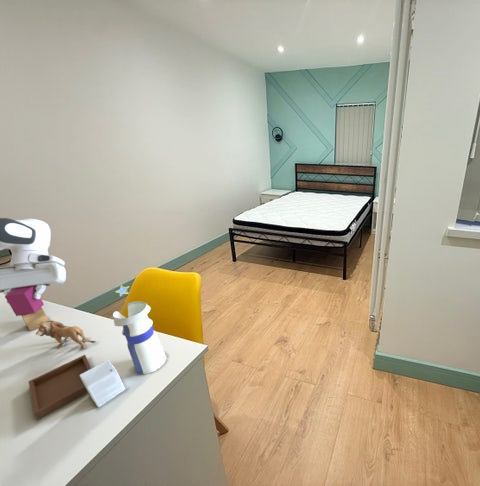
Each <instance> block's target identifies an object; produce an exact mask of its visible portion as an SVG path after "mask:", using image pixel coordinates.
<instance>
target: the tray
mask: <svg viewBox="0 0 480 486" xmlns="http://www.w3.org/2000/svg"><path fill="white" fill-rule="evenodd" d="M92 368H93V367H91V364H90V361H89V360H88V357H87V356H86V354H83V355H81V356H79V357H77V358H74V359H73V360H70V361H68V362H66V363H64V364H62V365H60V366H57V367H56V368H53V369H52V370H50V371H47V372H45V373H43V374H41V375H39V376H37V377H34V378H32V379H30V380H28V385H29V392H30V399H31V404H32V409H33V410H32V411H33V415H34V416H35V418H36V419H37V420H41V419H42V418H44V417H46V416H47V415H49V414H51V413H53V412H55V411H56V410H58V409H60V408H62V407H64V406H65V405H68V404H69V403H71V402H72V401H74V400H76V399H78V398H80V397H81V396H83V395H85V394H87V393H88V391H87V389H86V387H85V385H84V384H83V382H82V380H81V378H80V376H79V375H81V374H82V373H84V372H86V371H88V370H90V369H92Z"/></svg>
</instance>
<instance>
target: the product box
mask: <svg viewBox="0 0 480 486" xmlns="http://www.w3.org/2000/svg"><path fill="white" fill-rule="evenodd" d="M91 368H92V369H90V370H88V371H86V372H84V373H82V374H81V375H79V376H80V378H81V380H82V382H83V384H84V385H85V387H86V389H87V391H88V392H87V393H88V395H89V396H90V398H91V399H92V400H93V402H94V404H95V405H96V407H97V408H100V407H101V406H103V405H105V404H106V403H108V402H109V401H111V400H112V399H113V398H115V397H116V396H118V395H119V394H121V393H122V392H124V391H125V390H126V387H125V385H124V383H123V381H122V379H121V376H120V374H119V372H118V370H117V369H116V367H115V366H114V365H113V364H112V363H111V362H110V360H109V359H106V360H103V362H101V363H98V365H95V366H93V367H91Z"/></svg>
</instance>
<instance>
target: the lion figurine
mask: <svg viewBox="0 0 480 486" xmlns="http://www.w3.org/2000/svg"><path fill="white" fill-rule="evenodd" d="M39 325H40V327H38V328H37V329H38V330H37V331H36V332H35V335H36V336H39V337H44V336H46V337H50V338H52V339H55V341H56V342H57V343H59V344H58V345H57V347H58V348H62V347H63V346H65V343H64V342H67V341H70V339H71V340H72V341H73V342H74V343H76V344H78V345H80V349H81V350H83V349H85V348H87V345H86V344H85V342H87V343H91V344H95V343H96V341H97V340H89V339H88V338H87V337H86V336H85V334H84V330H83V329H82V328H81V327H79V326H76V325H74V326H69V325H64V324H63V323H62V322H60V321H57V320H49V321H44V322H41V323H40V324H39ZM79 336H80V337H81V340H80V338H79ZM62 338H64V341H63V340H62Z"/></svg>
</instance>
